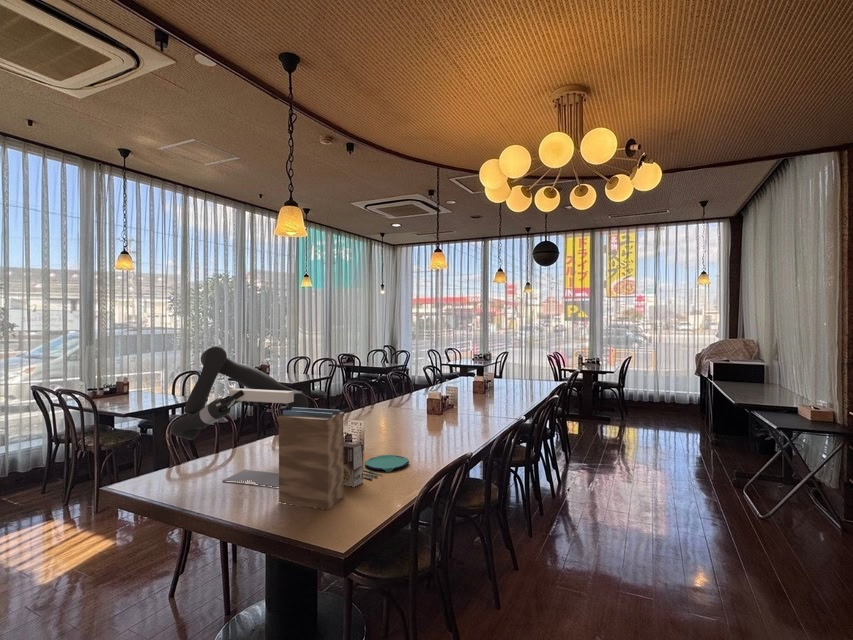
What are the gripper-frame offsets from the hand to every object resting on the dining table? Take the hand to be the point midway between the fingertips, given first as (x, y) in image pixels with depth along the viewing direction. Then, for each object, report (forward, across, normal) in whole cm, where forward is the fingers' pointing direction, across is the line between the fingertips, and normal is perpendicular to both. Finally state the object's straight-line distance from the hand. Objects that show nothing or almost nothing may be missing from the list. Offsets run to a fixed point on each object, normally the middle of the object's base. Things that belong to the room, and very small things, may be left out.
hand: (246, 391), depth 174 cm
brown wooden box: (+5, 0, +48) cm, 49 cm away
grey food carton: (+10, +20, +52) cm, 56 cm away
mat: (-22, +14, +33) cm, 42 cm away
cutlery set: (+14, +41, +54) cm, 70 cm away
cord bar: (+4, 0, +6) cm, 7 cm away
